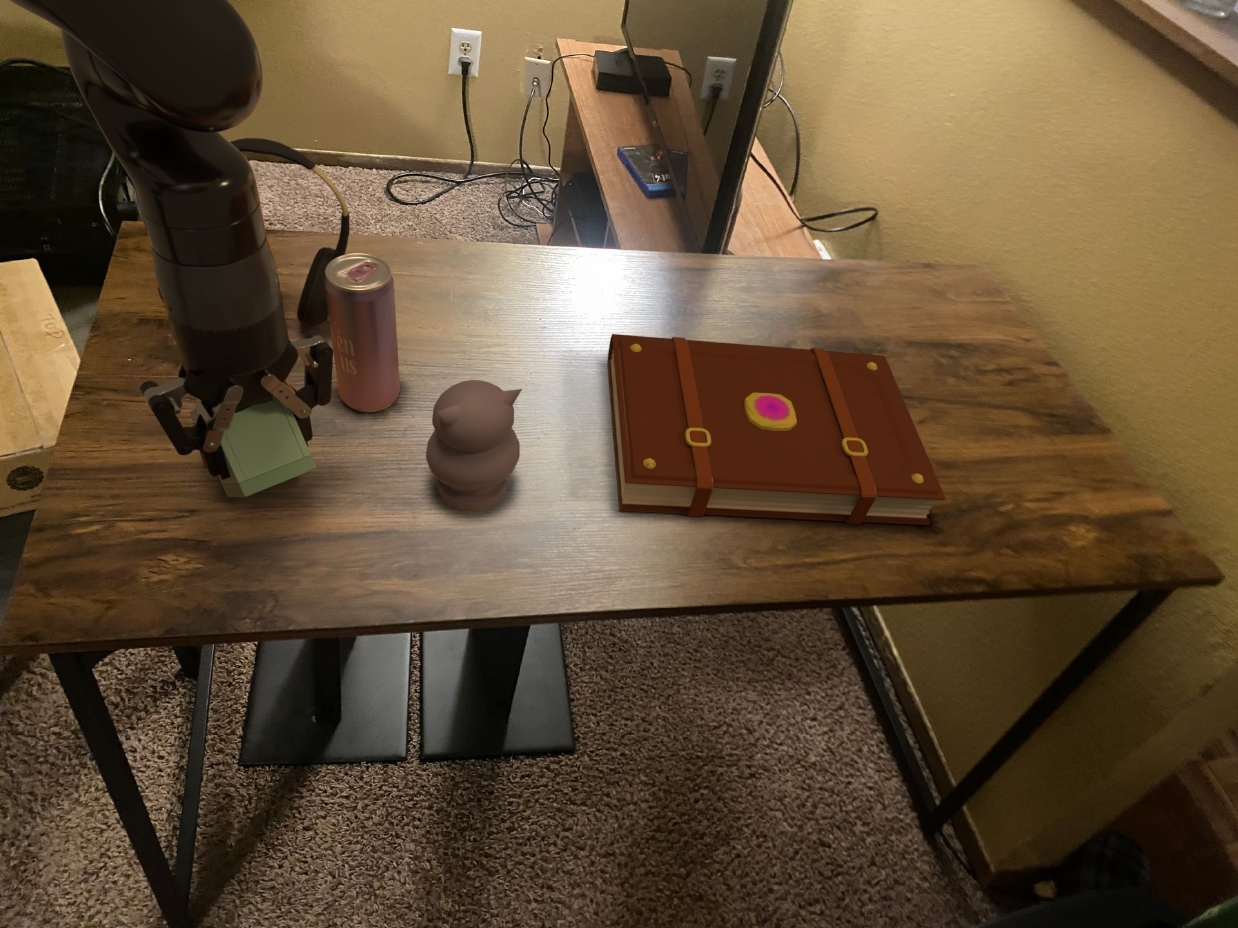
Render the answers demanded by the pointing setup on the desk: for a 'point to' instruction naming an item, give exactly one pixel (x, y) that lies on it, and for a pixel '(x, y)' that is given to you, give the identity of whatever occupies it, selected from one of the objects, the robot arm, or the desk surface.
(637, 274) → the desk surface
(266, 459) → the green open-top box
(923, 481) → the book
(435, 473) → the cat figurine
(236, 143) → the headphones
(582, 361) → the desk surface
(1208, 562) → the desk surface
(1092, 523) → the desk surface
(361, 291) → the beverage can
